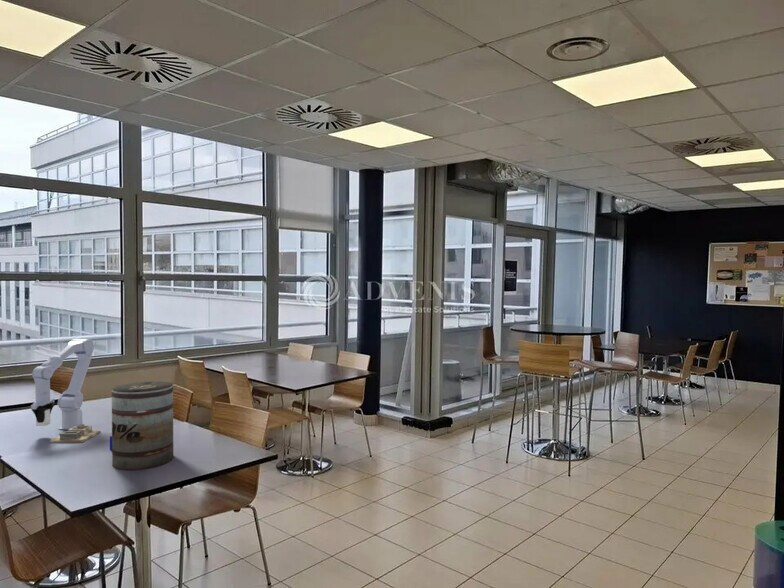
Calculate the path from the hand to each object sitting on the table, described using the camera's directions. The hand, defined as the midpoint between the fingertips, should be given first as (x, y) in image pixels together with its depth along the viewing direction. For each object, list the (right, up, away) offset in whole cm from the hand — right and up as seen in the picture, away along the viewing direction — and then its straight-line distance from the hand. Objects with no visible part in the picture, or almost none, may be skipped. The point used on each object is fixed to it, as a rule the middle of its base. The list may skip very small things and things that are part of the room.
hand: (43, 421), depth 250 cm
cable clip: (+44, -8, -14) cm, 47 cm away
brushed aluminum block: (0, -2, 0) cm, 2 cm away
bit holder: (+16, -7, -1) cm, 18 cm away
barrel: (+62, -8, -33) cm, 71 cm away
